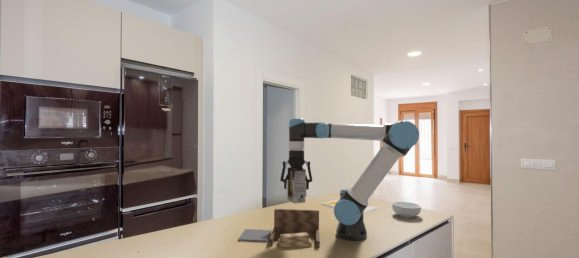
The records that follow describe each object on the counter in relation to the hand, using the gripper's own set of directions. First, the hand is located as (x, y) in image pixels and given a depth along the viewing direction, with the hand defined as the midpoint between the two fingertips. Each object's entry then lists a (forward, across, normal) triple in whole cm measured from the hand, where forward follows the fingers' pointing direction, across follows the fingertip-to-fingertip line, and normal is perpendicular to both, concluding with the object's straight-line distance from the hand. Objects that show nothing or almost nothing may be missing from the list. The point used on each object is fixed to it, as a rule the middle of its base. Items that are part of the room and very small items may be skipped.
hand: (296, 195), depth 141 cm
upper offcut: (+19, 0, +8) cm, 20 cm away
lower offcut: (+21, 0, +8) cm, 23 cm away
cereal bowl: (+21, -67, -45) cm, 83 cm away
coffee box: (+3, 0, 0) cm, 3 cm away
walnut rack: (+21, 0, +2) cm, 21 cm away
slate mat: (+21, +20, 0) cm, 29 cm away
